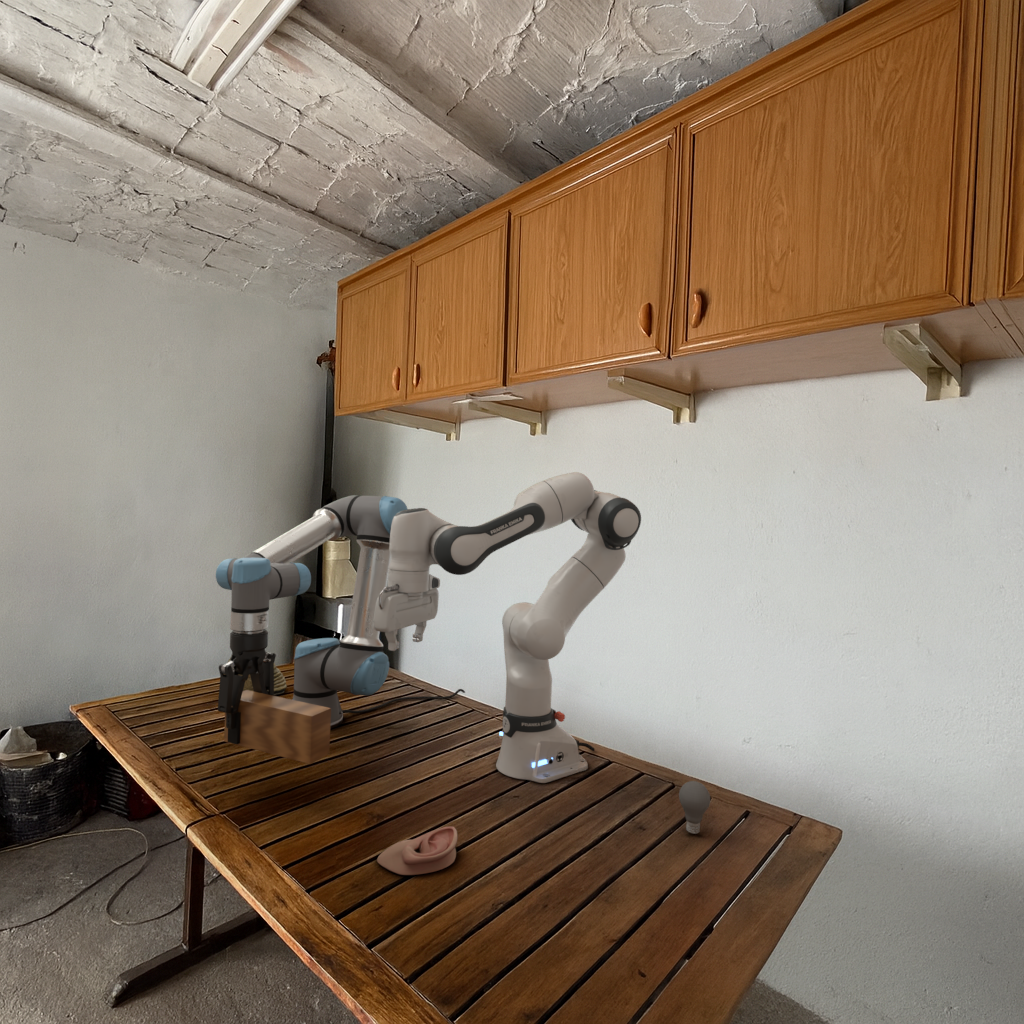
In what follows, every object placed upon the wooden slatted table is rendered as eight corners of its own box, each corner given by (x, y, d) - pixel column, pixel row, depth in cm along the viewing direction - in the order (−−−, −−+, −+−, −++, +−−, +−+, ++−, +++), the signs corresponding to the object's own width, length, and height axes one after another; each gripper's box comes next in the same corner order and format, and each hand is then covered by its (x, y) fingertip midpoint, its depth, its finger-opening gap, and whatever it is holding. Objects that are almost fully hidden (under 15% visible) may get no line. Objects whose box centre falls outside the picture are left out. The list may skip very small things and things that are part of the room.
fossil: (218, 695, 195) (220, 647, 195) (278, 685, 208) (279, 640, 207) (228, 703, 189) (230, 653, 188) (289, 692, 201) (290, 645, 201)
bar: (223, 741, 135) (225, 696, 135) (245, 732, 140) (246, 689, 140) (310, 764, 125) (311, 716, 125) (329, 754, 131) (331, 708, 130)
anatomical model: (370, 846, 108) (395, 814, 119) (369, 869, 108) (395, 835, 119) (444, 859, 105) (463, 825, 117) (443, 882, 106) (462, 846, 117)
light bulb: (673, 824, 128) (675, 775, 128) (701, 824, 129) (704, 775, 129) (683, 840, 122) (685, 789, 122) (713, 840, 123) (716, 789, 123)
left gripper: (226, 640, 126) (222, 756, 126) (294, 625, 143) (290, 727, 143) (199, 636, 129) (195, 749, 129) (269, 621, 146) (265, 721, 146)
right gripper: (393, 589, 127) (390, 657, 127) (444, 579, 146) (441, 638, 146) (367, 586, 129) (364, 653, 130) (420, 576, 148) (418, 635, 148)
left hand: (245, 737), depth 136 cm, fingers closed on bar, 6 cm apart
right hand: (405, 645), depth 138 cm, fingers open, 8 cm apart
